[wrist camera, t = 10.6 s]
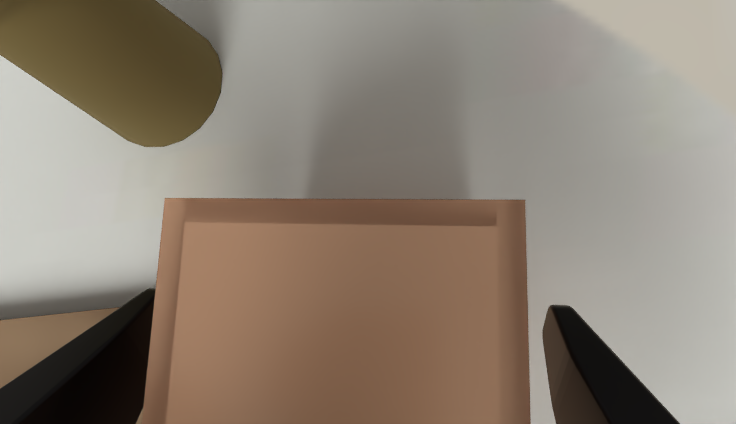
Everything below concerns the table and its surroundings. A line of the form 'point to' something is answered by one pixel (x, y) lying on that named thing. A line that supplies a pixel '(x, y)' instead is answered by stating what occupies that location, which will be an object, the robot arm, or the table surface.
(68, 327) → the walnut pad
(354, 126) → the table surface
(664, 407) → the robot arm
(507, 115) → the table surface
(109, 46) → the olive pawn game piece
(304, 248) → the tan upright cuboid
